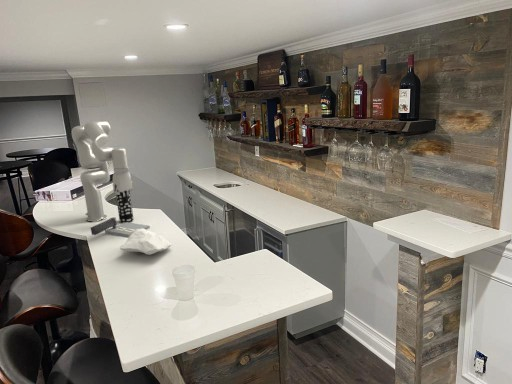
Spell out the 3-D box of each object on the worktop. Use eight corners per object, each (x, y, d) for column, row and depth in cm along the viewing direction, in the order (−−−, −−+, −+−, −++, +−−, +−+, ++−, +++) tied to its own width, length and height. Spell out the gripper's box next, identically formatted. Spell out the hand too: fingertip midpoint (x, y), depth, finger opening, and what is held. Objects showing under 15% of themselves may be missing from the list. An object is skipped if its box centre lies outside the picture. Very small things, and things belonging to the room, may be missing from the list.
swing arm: (113, 223, 226) (112, 217, 225) (117, 224, 225) (117, 217, 224) (91, 234, 209) (90, 227, 208) (96, 235, 208) (94, 228, 207)
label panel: (105, 232, 222) (104, 227, 221) (126, 224, 235) (126, 219, 235) (128, 237, 213) (128, 231, 212) (149, 228, 226) (149, 222, 225)
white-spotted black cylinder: (135, 219, 246) (131, 188, 241) (130, 223, 238) (126, 191, 233) (123, 219, 247) (118, 188, 242) (117, 223, 239) (112, 191, 234)
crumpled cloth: (125, 266, 171) (126, 246, 170) (113, 242, 201) (114, 225, 200) (177, 261, 182) (178, 242, 181) (159, 239, 212) (159, 223, 211)
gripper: (126, 167, 219) (130, 199, 224) (105, 172, 207) (110, 205, 211) (136, 168, 216) (140, 200, 220) (115, 173, 203) (119, 207, 208)
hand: (125, 202), depth 216 cm, fingers closed
